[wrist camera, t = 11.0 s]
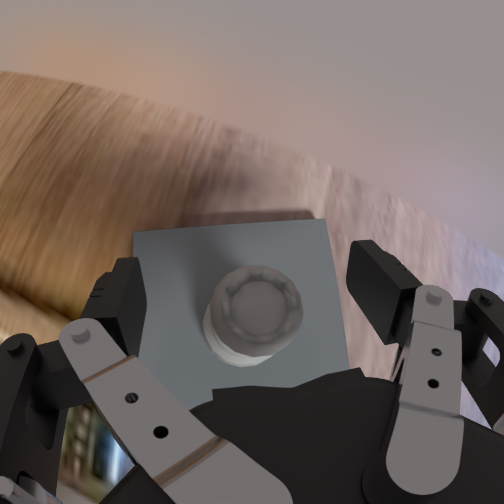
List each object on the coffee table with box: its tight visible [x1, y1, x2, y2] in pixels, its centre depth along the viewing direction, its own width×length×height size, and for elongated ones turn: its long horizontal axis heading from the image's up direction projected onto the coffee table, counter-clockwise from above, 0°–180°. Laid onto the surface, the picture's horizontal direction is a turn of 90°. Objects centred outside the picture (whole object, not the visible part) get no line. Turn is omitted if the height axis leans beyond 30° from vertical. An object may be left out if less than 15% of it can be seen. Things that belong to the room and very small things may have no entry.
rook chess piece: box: [202, 265, 303, 367], centre depth 14 cm, size 4×4×8 cm
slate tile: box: [133, 218, 349, 411], centre depth 18 cm, size 12×12×1 cm
